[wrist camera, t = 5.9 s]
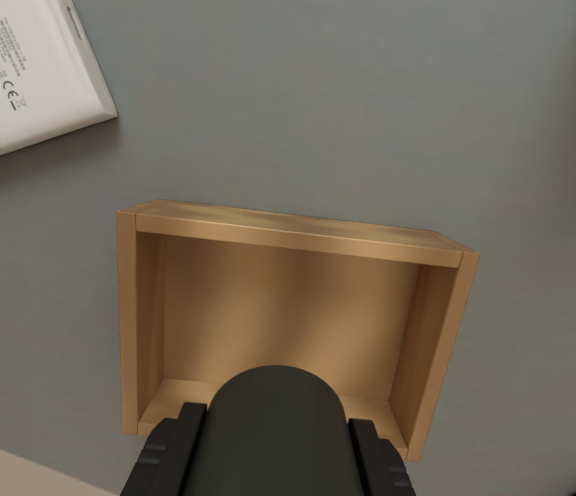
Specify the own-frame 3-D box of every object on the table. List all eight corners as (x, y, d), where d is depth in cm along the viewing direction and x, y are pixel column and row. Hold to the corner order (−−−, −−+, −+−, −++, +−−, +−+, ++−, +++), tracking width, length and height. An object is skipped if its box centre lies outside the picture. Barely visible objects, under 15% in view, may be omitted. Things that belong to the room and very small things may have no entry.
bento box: (155, 378, 20) (121, 434, 16) (157, 198, 17) (115, 210, 13) (393, 402, 21) (420, 462, 17) (436, 231, 18) (481, 253, 14)
